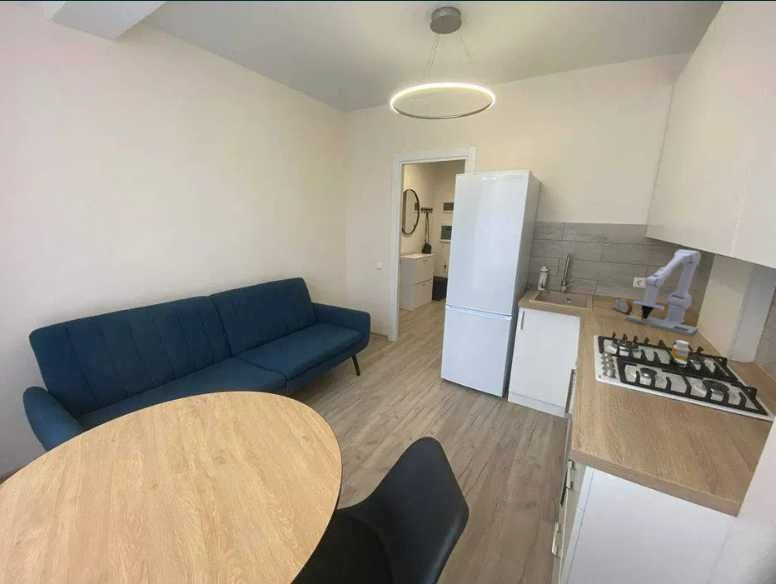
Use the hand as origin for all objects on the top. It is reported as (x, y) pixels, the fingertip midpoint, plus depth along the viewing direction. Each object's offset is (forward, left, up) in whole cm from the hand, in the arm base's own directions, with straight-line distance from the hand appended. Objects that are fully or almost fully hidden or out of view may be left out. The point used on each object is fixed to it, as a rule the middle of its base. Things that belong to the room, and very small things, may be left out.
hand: (645, 318), depth 190 cm
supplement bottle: (+52, +28, -3) cm, 59 cm away
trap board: (-4, +7, -3) cm, 8 cm away
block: (0, -3, -1) cm, 4 cm away
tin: (-16, -17, -3) cm, 24 cm away
